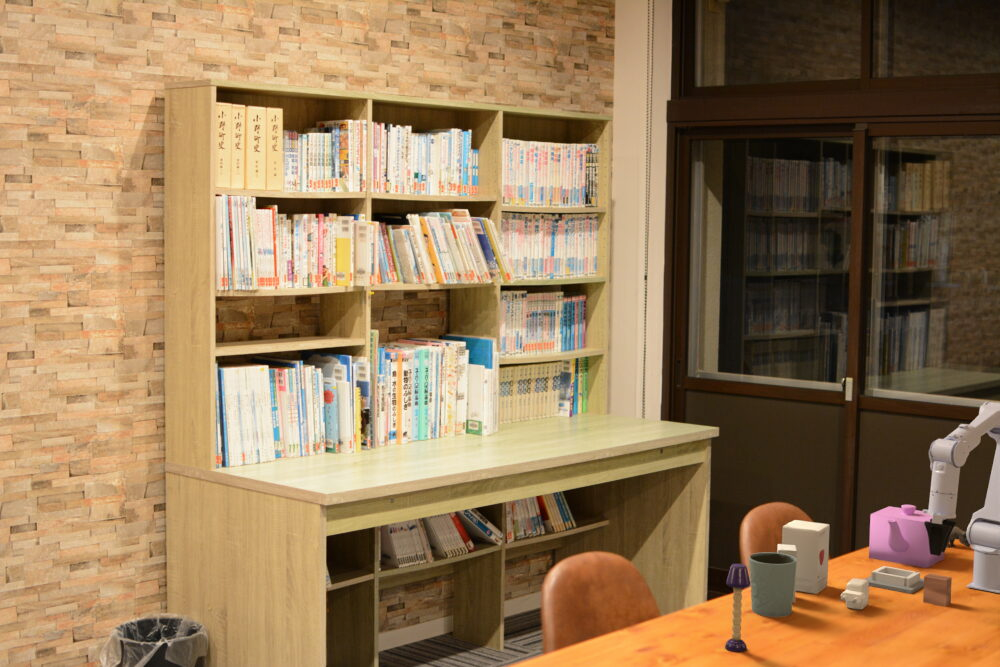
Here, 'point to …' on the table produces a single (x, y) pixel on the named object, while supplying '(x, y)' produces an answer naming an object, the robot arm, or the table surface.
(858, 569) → the table surface
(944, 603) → the block
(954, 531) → the rhino figurine
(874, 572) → the grey framed tray
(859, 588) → the power adapter
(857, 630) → the table surface
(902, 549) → the pink knobbed box
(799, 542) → the supplement box
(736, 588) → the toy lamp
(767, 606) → the grey-green tapered cup
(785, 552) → the skincare box
